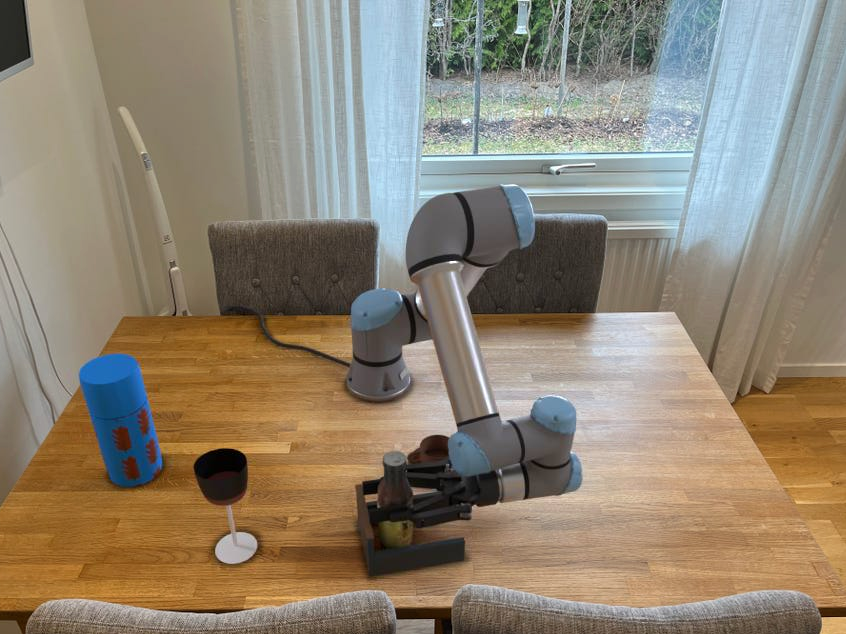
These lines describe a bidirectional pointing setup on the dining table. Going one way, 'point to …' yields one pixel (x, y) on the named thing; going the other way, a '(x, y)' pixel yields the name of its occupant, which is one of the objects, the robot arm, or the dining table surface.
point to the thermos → (121, 418)
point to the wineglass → (226, 497)
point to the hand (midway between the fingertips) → (366, 502)
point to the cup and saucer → (430, 450)
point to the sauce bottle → (394, 501)
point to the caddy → (405, 555)
